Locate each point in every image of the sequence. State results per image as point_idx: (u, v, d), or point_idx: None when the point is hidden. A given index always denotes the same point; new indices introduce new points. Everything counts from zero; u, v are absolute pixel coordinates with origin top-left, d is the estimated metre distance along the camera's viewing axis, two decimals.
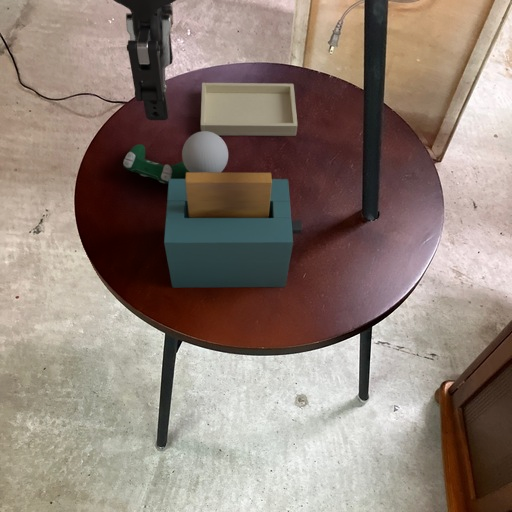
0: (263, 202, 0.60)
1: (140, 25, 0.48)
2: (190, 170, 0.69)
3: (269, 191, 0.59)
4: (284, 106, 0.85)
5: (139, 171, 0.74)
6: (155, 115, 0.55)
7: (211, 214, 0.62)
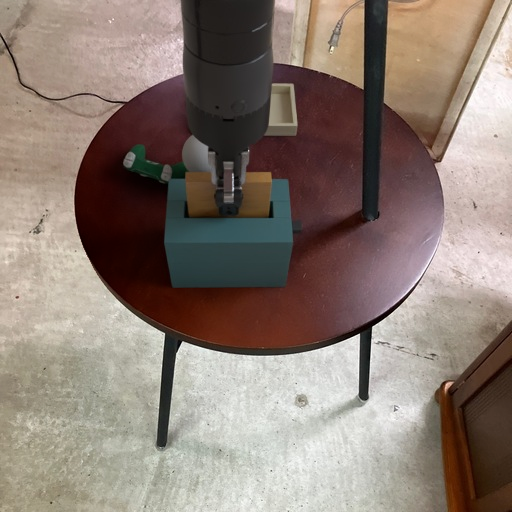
0: (263, 202, 0.60)
1: (223, 168, 0.51)
2: (190, 170, 0.69)
3: (269, 190, 0.59)
4: (284, 106, 0.85)
5: (139, 171, 0.74)
6: (228, 213, 0.60)
7: (211, 214, 0.62)
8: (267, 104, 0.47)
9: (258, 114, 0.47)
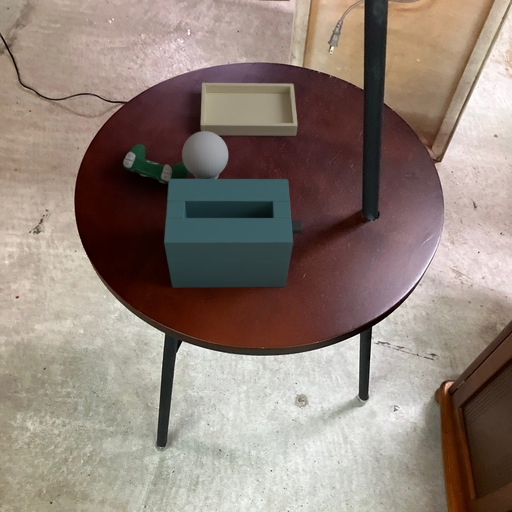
0: None
1: None
2: (190, 170, 0.69)
3: None
4: (284, 106, 0.85)
5: (139, 171, 0.74)
6: None
7: None
8: None
9: None
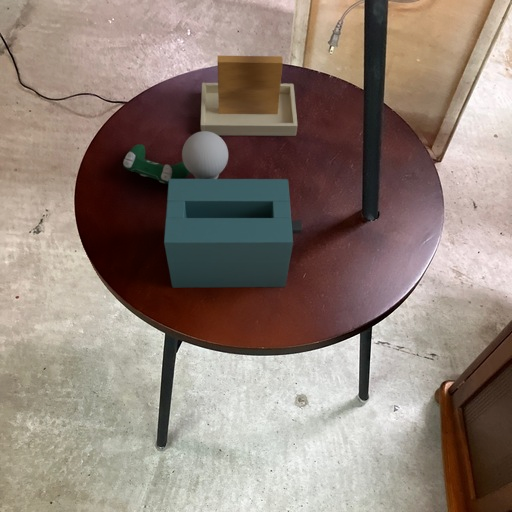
0: (275, 82, 0.79)
1: None
2: (190, 170, 0.69)
3: (280, 71, 0.77)
4: (284, 106, 0.85)
5: (139, 171, 0.74)
6: None
7: (235, 94, 0.80)
8: None
9: None
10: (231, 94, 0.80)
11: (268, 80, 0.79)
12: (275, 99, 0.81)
